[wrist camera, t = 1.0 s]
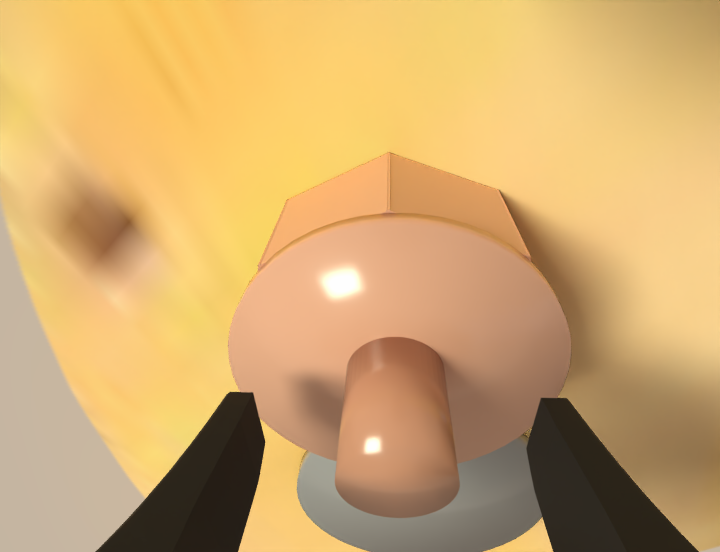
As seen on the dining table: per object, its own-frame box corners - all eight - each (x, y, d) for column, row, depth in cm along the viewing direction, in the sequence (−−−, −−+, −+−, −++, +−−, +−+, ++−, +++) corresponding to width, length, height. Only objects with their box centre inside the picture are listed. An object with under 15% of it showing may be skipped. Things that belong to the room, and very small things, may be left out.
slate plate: (600, 444, 21) (607, 460, 21) (476, 561, 29) (478, 575, 28) (338, 374, 20) (337, 388, 19) (276, 516, 27) (273, 530, 26)
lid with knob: (584, 210, 15) (740, 407, 8) (457, 394, 20) (490, 605, 13) (299, 111, 13) (212, 251, 7) (244, 336, 19) (166, 537, 12)
